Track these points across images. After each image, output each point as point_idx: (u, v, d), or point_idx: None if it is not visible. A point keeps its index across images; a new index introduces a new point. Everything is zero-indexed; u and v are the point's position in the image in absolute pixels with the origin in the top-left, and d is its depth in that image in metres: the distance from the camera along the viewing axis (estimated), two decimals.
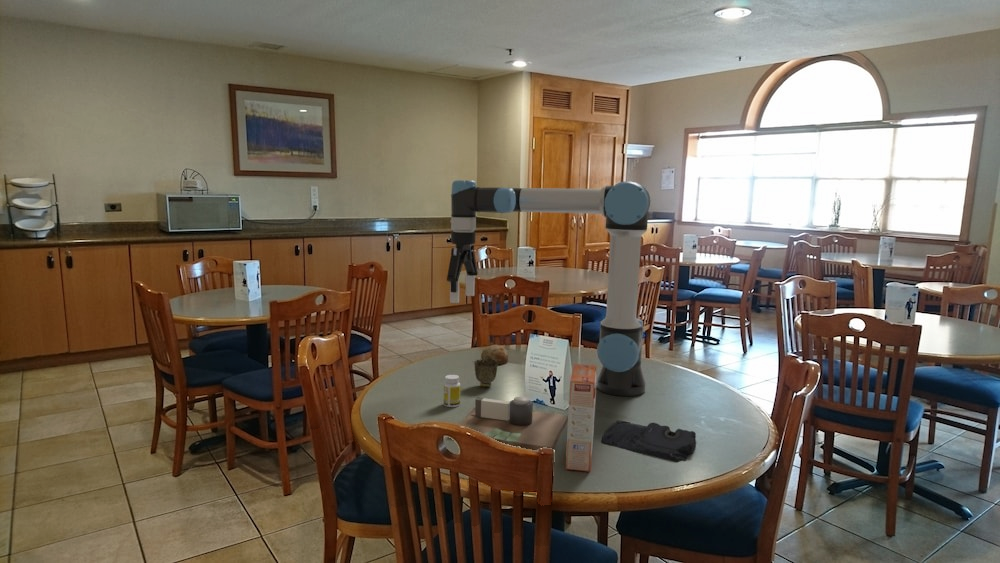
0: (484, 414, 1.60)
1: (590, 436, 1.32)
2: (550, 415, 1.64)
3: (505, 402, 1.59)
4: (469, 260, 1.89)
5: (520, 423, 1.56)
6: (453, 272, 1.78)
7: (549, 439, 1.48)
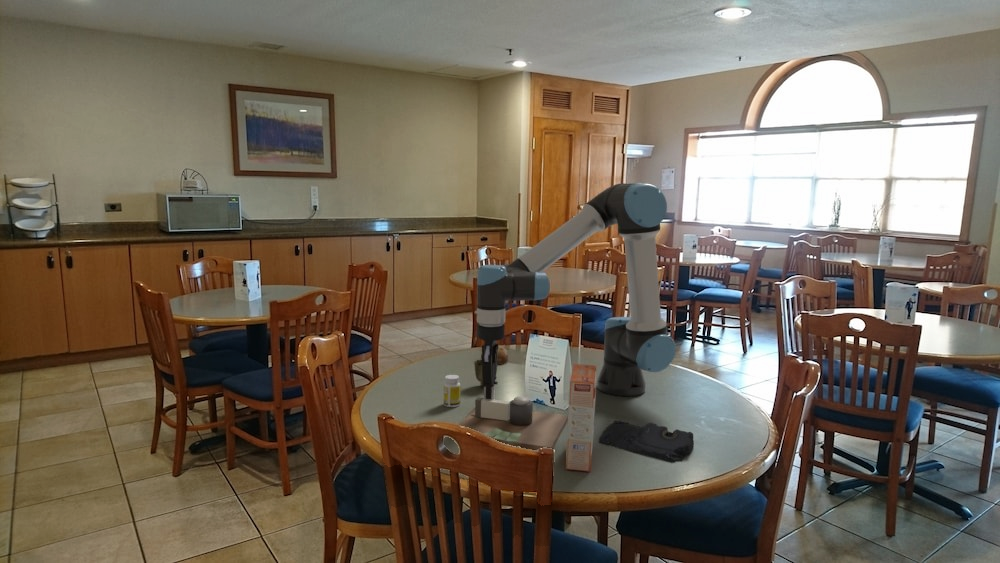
0: (484, 414, 1.60)
1: (590, 436, 1.32)
2: (550, 415, 1.64)
3: (505, 402, 1.59)
4: None
5: (520, 423, 1.56)
6: (489, 380, 1.57)
7: (549, 439, 1.48)
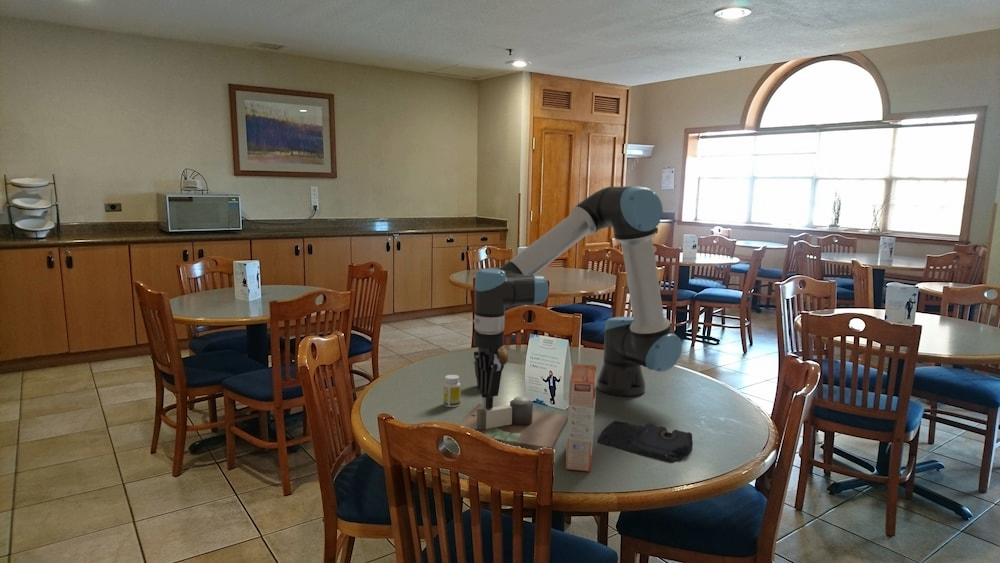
0: (489, 425, 1.53)
1: (590, 436, 1.32)
2: (550, 415, 1.64)
3: (507, 406, 1.56)
4: None
5: (528, 422, 1.56)
6: (496, 389, 1.51)
7: (549, 439, 1.48)
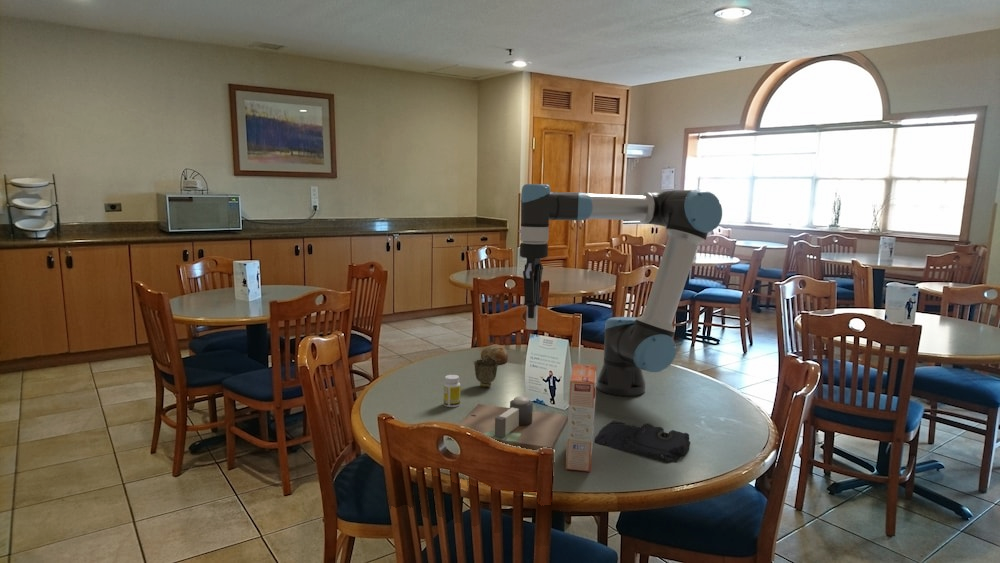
0: (507, 431, 1.50)
1: (590, 436, 1.32)
2: (550, 415, 1.64)
3: (514, 409, 1.54)
4: None
5: None
6: (530, 298, 1.59)
7: (549, 439, 1.48)
